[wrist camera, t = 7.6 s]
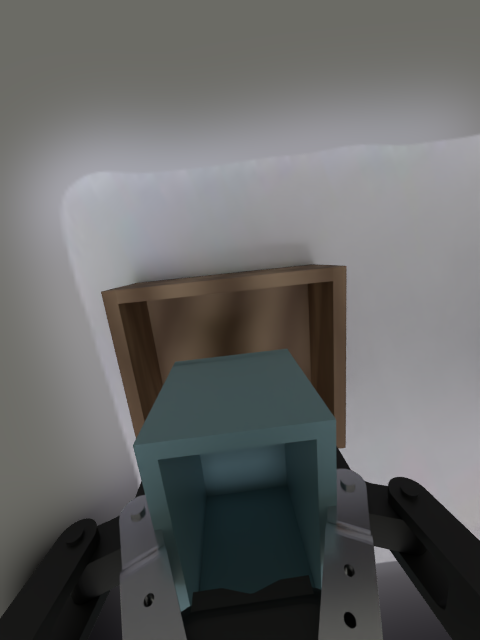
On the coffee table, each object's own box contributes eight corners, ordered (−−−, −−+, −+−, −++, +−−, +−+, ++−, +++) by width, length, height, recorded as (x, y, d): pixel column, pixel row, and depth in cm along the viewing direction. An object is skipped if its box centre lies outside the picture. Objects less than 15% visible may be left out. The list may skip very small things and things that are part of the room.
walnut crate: (313, 264, 25) (346, 266, 18) (317, 403, 29) (345, 447, 22) (136, 283, 24) (101, 291, 18) (164, 421, 28) (144, 472, 21)
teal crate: (287, 348, 13) (336, 419, 7) (295, 483, 15) (337, 621, 9) (175, 361, 13) (132, 445, 7) (199, 496, 15) (182, 644, 9)
